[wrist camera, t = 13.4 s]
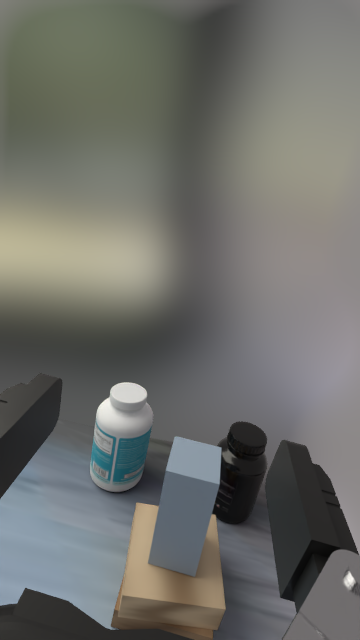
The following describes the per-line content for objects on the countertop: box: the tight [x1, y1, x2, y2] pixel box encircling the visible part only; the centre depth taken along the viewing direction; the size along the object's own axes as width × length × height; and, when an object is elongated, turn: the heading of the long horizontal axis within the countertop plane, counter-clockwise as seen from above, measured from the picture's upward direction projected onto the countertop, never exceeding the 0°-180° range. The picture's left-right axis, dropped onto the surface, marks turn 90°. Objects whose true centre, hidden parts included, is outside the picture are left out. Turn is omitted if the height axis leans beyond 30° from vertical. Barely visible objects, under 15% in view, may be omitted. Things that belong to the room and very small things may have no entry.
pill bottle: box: [90, 383, 153, 492], centre depth 44 cm, size 8×7×14 cm
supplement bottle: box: [212, 422, 267, 523], centre depth 43 cm, size 7×7×12 cm
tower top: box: [118, 503, 226, 630], centre depth 32 cm, size 9×9×3 cm
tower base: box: [111, 573, 213, 640], centre depth 33 cm, size 9×9×3 cm
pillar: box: [148, 436, 221, 577], centre depth 30 cm, size 4×4×11 cm
